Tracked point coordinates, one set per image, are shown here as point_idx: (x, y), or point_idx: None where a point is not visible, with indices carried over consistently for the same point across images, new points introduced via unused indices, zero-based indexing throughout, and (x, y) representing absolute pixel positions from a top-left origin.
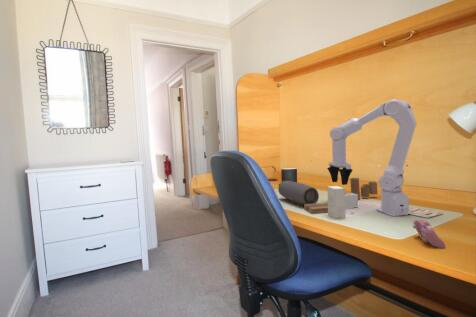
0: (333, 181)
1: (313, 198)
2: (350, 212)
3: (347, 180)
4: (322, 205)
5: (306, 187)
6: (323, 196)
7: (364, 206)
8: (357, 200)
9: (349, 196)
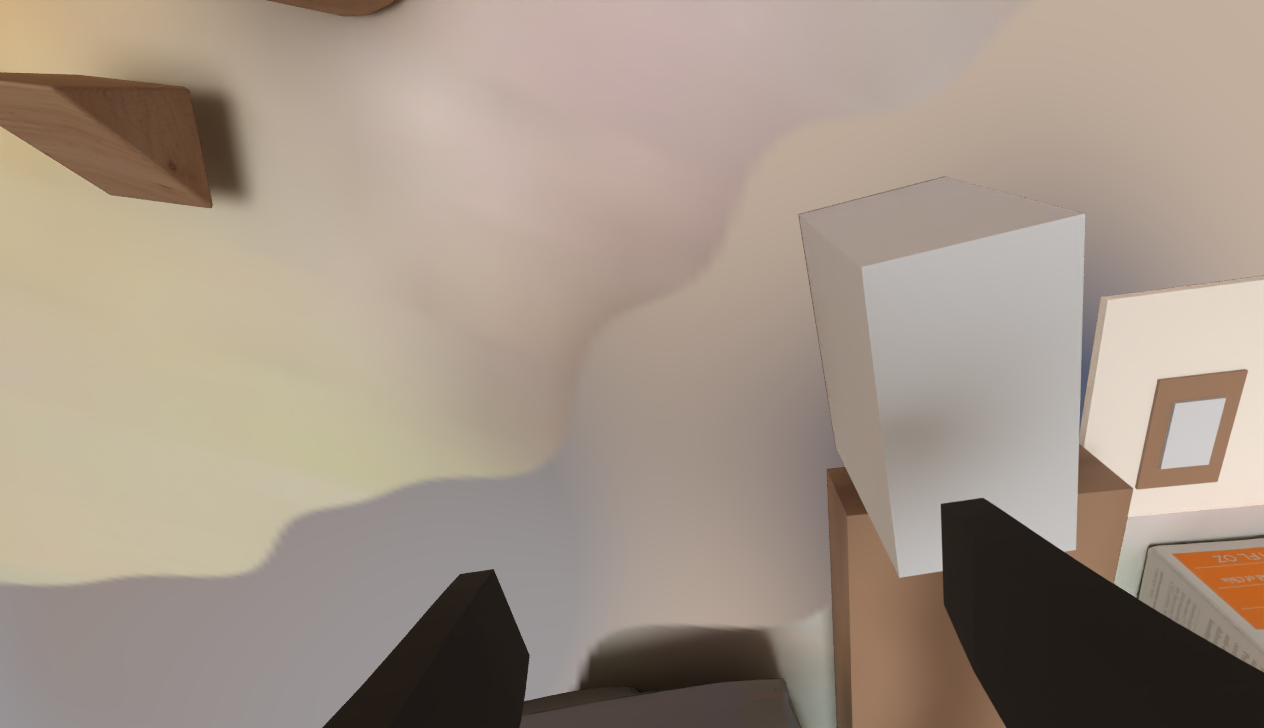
0: (522, 671)
1: None
2: (1184, 405)
3: (1089, 588)
4: (967, 677)
5: None
6: (169, 394)
7: (898, 19)
8: (1009, 200)
9: (1067, 400)
